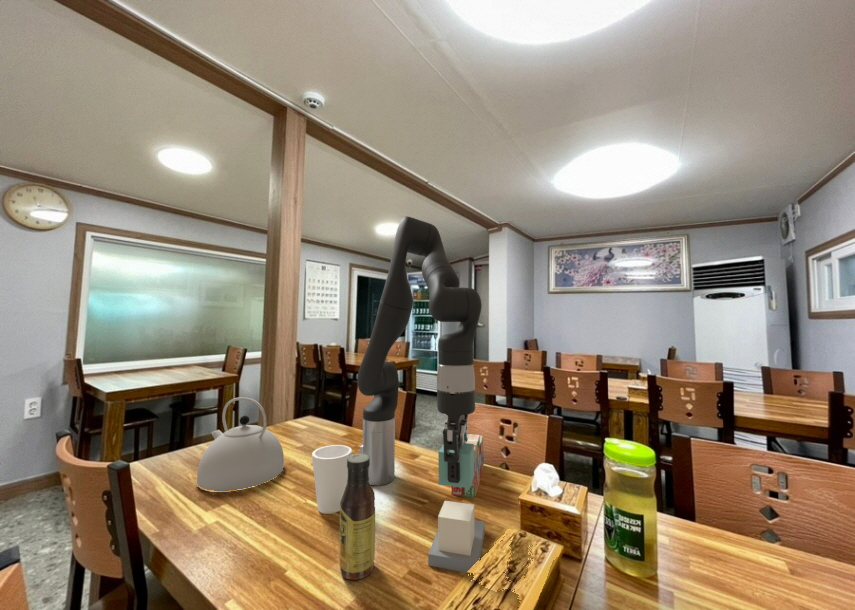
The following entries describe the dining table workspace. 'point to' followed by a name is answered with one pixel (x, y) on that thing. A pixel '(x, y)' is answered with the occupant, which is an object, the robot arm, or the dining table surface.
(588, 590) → the dining table surface
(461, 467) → the teal cube
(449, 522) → the cream cube
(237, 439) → the kettle
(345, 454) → the foam cup
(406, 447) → the dining table surface
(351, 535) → the sauce bottle
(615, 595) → the dining table surface
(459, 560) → the board
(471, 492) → the stack of blocks
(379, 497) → the dining table surface
